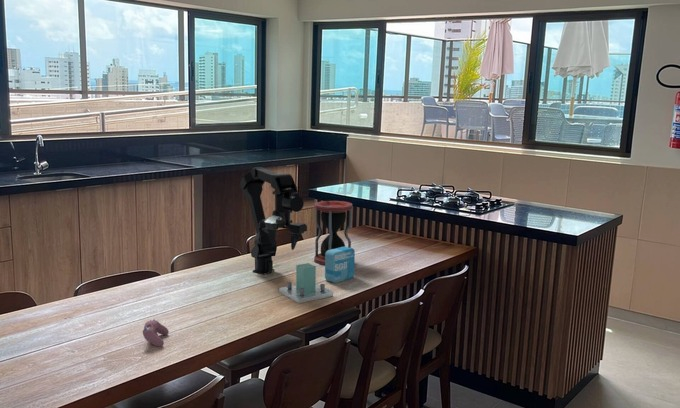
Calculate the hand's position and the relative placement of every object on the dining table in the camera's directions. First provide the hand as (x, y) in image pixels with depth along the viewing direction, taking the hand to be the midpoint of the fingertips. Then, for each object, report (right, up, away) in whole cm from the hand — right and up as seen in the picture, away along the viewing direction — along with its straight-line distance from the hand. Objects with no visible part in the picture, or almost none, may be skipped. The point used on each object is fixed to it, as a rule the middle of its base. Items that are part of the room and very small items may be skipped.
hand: (282, 247), depth 230 cm
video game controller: (-31, -23, -55) cm, 67 cm away
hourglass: (+19, -8, +31) cm, 37 cm away
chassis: (+9, -16, -12) cm, 22 cm away
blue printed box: (+22, -13, +6) cm, 26 cm away
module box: (+9, -14, -13) cm, 21 cm away
